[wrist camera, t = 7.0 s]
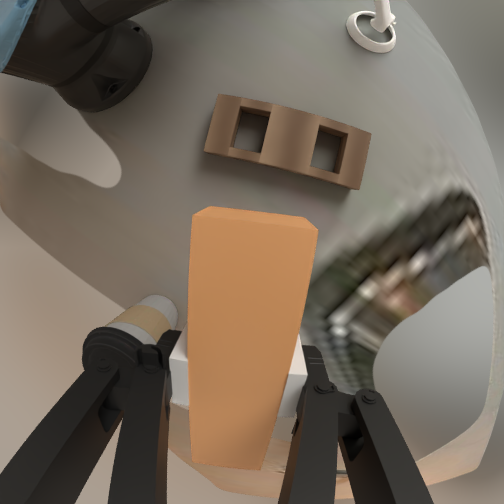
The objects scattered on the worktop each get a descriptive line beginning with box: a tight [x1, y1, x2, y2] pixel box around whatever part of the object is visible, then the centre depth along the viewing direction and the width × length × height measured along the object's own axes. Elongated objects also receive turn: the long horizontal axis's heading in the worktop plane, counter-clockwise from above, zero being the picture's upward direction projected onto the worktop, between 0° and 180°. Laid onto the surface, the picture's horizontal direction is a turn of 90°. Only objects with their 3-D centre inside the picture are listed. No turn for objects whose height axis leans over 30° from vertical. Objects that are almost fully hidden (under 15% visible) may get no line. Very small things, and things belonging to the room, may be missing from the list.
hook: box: [346, 0, 396, 53], centre depth 22 cm, size 8×12×7 cm
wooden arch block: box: [187, 206, 319, 470], centre depth 15 cm, size 14×4×9 cm, turn 173°
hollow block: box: [204, 94, 371, 190], centre depth 29 cm, size 18×7×3 cm, turn 77°
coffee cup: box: [82, 295, 178, 370], centre depth 30 cm, size 9×9×15 cm
